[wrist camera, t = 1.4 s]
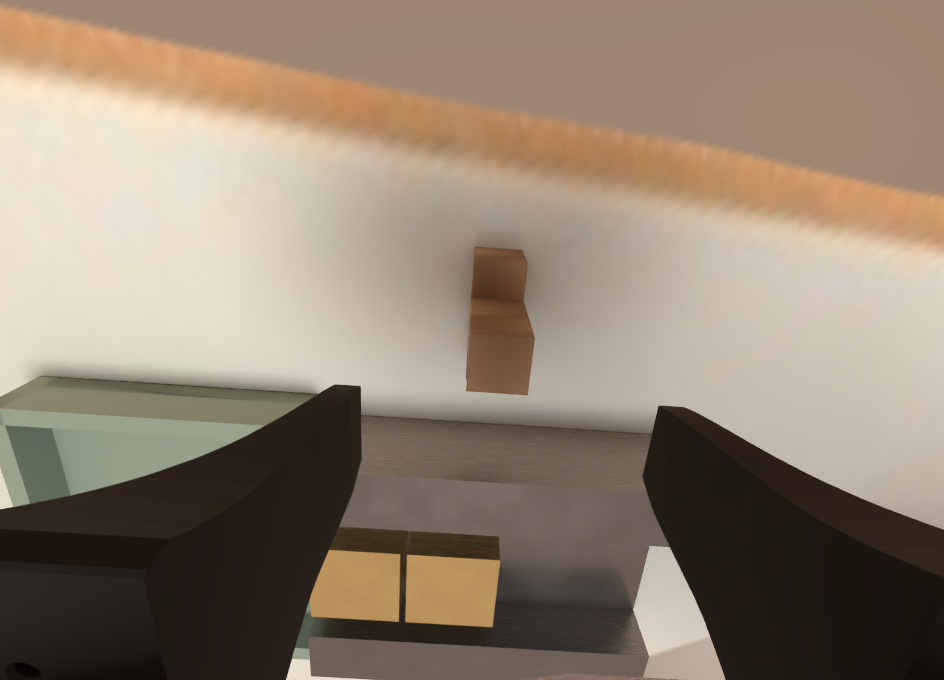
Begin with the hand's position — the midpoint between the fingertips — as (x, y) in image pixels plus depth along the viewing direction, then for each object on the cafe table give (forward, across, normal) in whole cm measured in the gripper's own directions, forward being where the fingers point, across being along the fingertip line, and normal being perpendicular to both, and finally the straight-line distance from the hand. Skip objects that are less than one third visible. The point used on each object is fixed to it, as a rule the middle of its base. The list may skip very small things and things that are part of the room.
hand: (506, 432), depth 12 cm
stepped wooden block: (+10, 0, 0) cm, 10 cm away
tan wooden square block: (+8, +5, +12) cm, 16 cm away
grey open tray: (+10, 0, +12) cm, 16 cm away
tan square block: (+8, +1, +12) cm, 15 cm away
